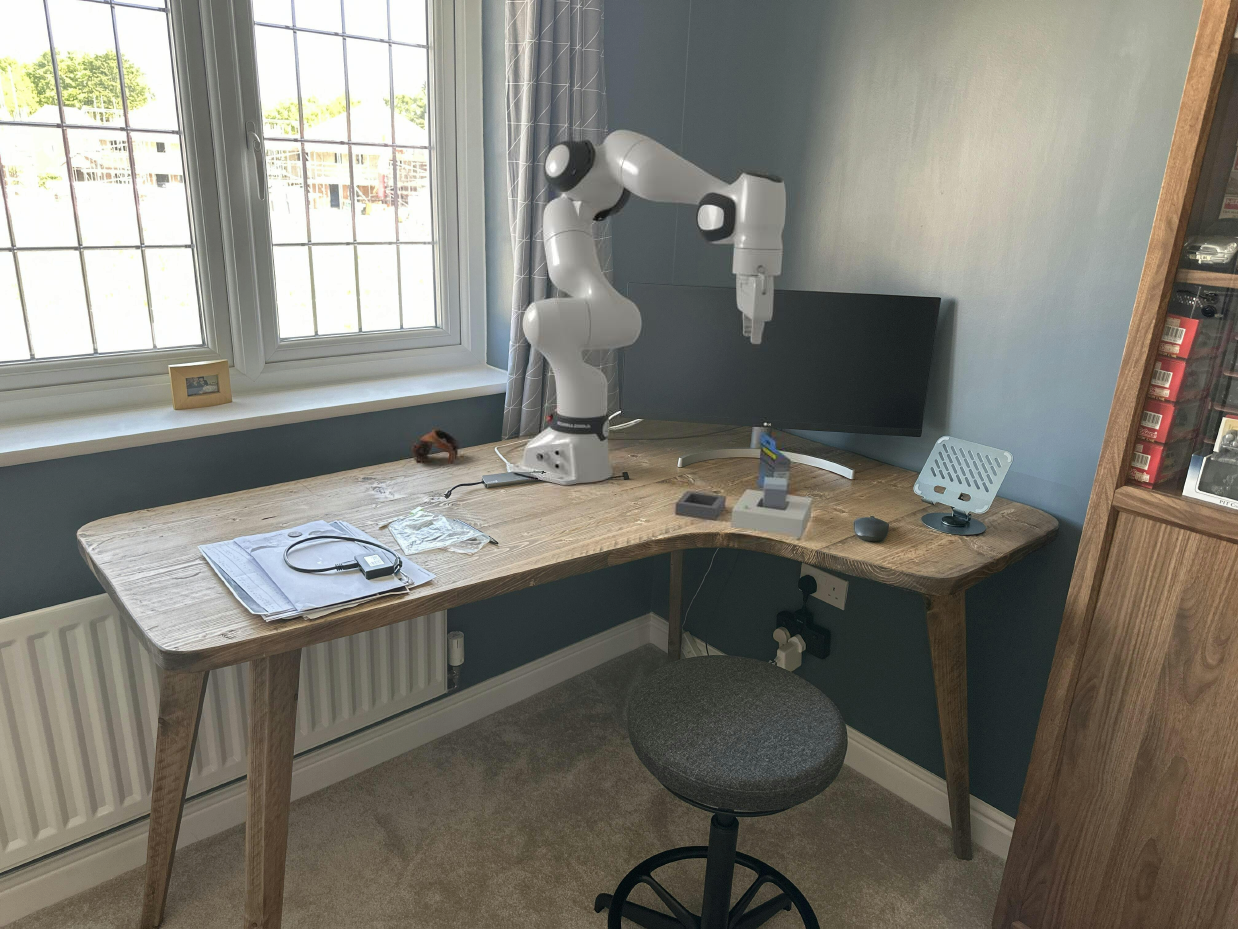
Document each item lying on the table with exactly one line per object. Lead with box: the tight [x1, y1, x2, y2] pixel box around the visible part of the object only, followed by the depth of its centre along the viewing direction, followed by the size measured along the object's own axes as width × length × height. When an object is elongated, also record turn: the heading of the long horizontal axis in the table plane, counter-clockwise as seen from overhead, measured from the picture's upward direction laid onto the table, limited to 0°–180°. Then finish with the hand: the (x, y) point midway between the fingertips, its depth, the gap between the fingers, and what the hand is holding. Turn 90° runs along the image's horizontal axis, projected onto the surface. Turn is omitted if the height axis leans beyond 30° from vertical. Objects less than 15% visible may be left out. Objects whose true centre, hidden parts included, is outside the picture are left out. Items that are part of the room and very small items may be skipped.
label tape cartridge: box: [757, 430, 792, 495], centre depth 177 cm, size 9×4×12 cm, turn 11°
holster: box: [674, 490, 727, 522], centre depth 164 cm, size 8×8×3 cm
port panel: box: [730, 489, 813, 541], centre depth 159 cm, size 13×13×4 cm
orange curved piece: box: [411, 429, 460, 464], centre depth 192 cm, size 12×10×8 cm
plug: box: [762, 477, 787, 511], centre depth 159 cm, size 4×4×8 cm
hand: (751, 339), depth 157 cm, fingers open, 8 cm apart
